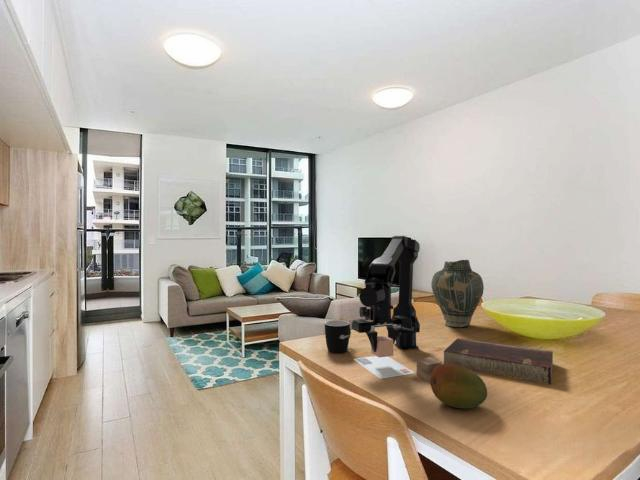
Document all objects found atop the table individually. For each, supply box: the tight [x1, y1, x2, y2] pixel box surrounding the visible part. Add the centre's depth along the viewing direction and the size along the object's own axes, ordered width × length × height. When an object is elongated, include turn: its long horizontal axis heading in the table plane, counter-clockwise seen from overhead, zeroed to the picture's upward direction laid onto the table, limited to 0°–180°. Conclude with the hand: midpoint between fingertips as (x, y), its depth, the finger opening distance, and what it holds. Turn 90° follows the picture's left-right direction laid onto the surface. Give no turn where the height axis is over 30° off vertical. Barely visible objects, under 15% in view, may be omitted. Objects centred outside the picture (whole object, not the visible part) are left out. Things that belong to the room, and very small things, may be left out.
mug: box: [324, 319, 352, 354], centre depth 134 cm, size 12×9×10 cm
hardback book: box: [443, 337, 554, 385], centre depth 118 cm, size 29×19×5 cm, turn 57°
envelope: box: [353, 355, 415, 380], centre depth 117 cm, size 12×18×1 cm, turn 20°
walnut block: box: [416, 356, 443, 382], centre depth 108 cm, size 5×5×5 cm
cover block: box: [370, 335, 394, 358], centre depth 117 cm, size 5×5×5 cm
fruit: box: [429, 363, 488, 409], centre depth 91 cm, size 12×12×10 cm
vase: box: [430, 259, 485, 328], centre depth 168 cm, size 22×22×30 cm
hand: (382, 350), depth 117 cm, fingers closed on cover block, 5 cm apart
